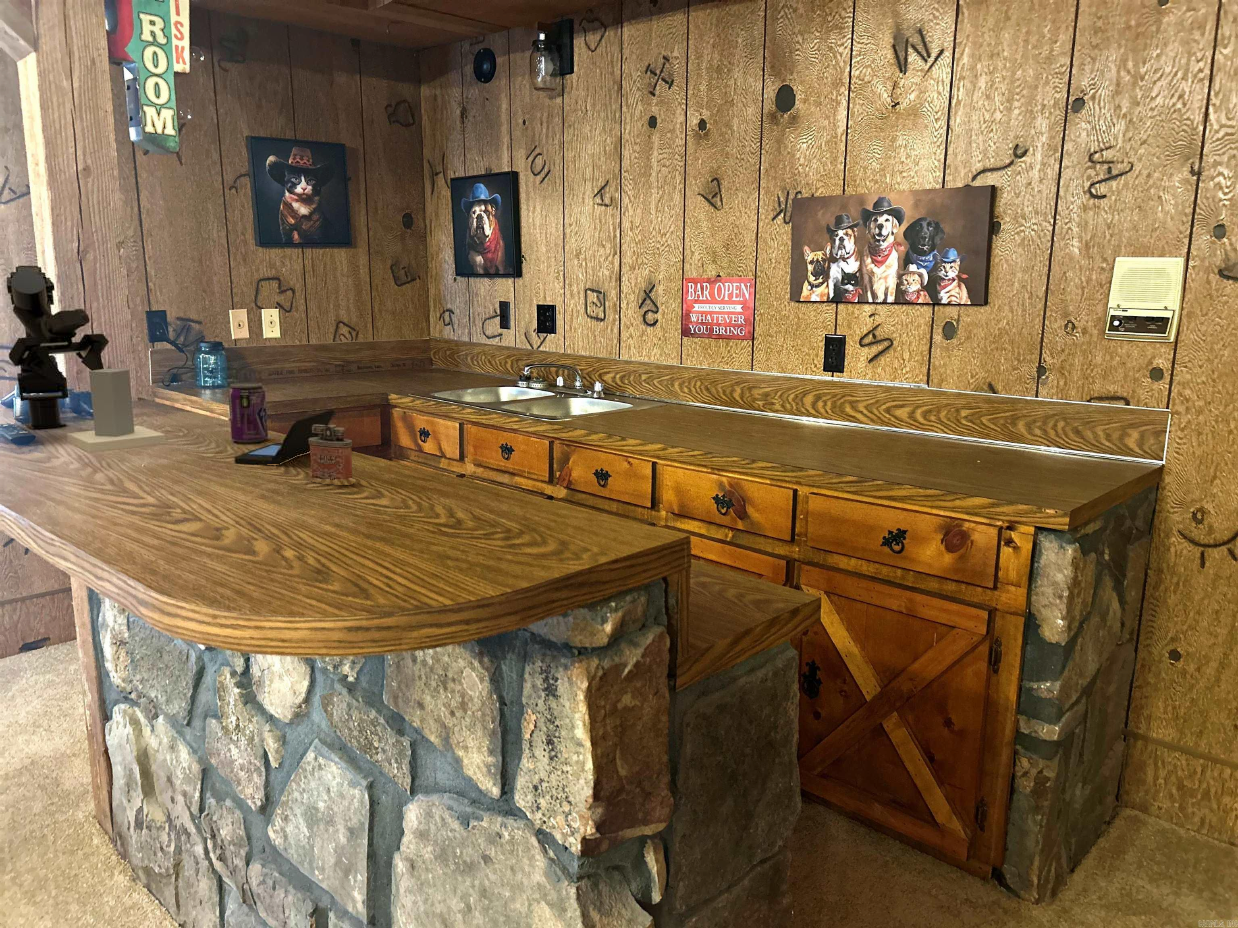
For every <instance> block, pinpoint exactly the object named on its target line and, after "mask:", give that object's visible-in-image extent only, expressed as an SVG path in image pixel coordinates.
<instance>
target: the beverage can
mask: <svg viewBox="0 0 1238 928" xmlns="http://www.w3.org/2000/svg"><path fill="white" fill-rule="evenodd" d="M229 386H230V389H229V391H228V408H229V419H230V421H229V422H230V434H231V435H230V436H231V439H232V440H233V441H235V442H236V443H239V444H255V443H260V442H263V441H264V440H266V439H268V437H269V434H268V433H269V431H268V430H269V429H268V418H267V402H266V398H267V397H266V391H265V390H264V389H263V383H260V382H238V383H237V382H236V383H231V384H230V385H229Z"/></svg>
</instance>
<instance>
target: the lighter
mask: <svg viewBox="0 0 1238 928" xmlns="http://www.w3.org/2000/svg"><path fill="white" fill-rule="evenodd" d="M345 430H346V428H344V427H338V426H337V425H336V424H328V425H327V426H326V425H313V426H312V432H314V433H320V434H319V437H314V438H309V444H310V470H311V471H310V473H311V476H310V479H311V478H317V479H318V478H319V479H330V480H331V479H332V480H333V479H334V480H335V479H349V478H353V461H352V460H353V458H352V446H353V440H351V439H346V438H344V437H345V434H346V431H345Z"/></svg>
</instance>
